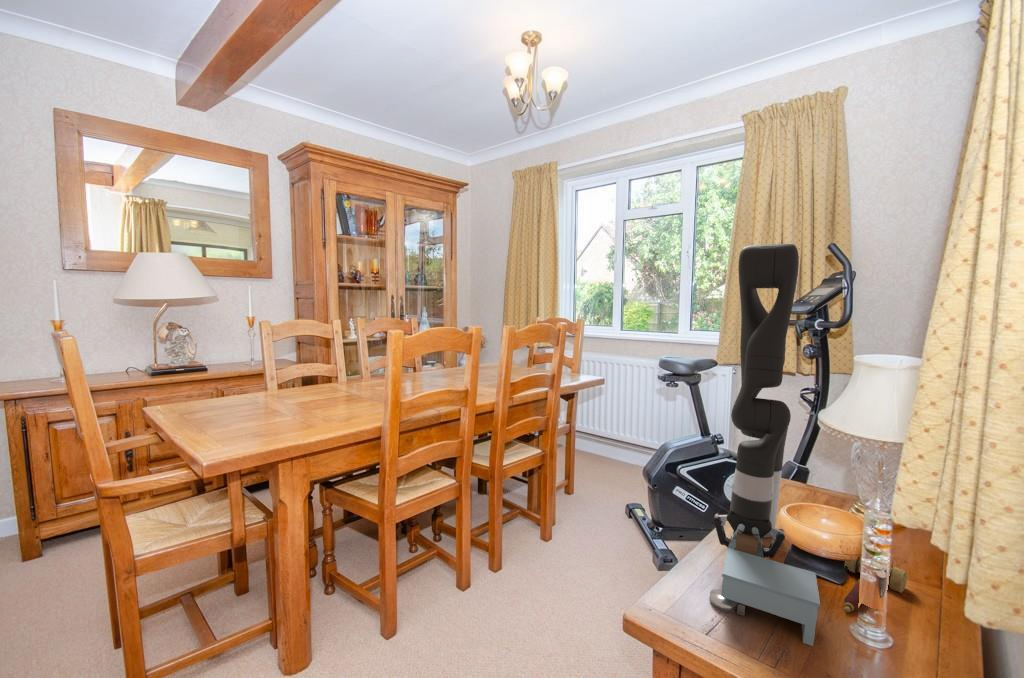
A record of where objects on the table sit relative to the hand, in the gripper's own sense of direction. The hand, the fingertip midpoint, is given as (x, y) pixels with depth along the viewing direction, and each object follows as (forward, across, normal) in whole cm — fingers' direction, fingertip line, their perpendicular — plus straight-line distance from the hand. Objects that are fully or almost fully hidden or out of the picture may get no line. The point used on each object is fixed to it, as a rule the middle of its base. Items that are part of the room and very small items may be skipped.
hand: (743, 567), depth 99 cm
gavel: (+3, -22, -8) cm, 24 cm away
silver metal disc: (+2, +3, +12) cm, 12 cm away
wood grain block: (+2, 0, +6) cm, 6 cm away
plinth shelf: (+2, -4, +10) cm, 11 cm away
